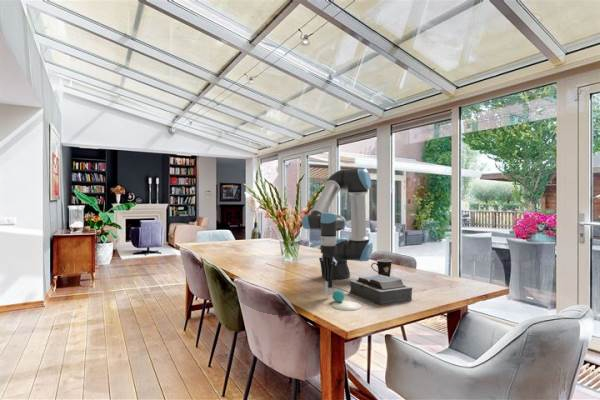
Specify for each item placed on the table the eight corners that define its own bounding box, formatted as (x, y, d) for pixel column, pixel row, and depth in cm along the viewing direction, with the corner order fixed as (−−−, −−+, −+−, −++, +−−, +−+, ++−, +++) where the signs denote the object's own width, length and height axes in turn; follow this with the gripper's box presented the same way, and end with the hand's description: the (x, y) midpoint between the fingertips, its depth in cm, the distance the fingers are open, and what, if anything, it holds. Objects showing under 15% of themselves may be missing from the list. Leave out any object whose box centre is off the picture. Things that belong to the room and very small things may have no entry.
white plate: (326, 304, 157) (326, 303, 157) (349, 300, 164) (349, 299, 164) (343, 312, 146) (343, 312, 146) (367, 307, 152) (367, 307, 152)
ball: (339, 292, 157) (336, 304, 157) (348, 292, 160) (345, 303, 160) (331, 288, 161) (329, 299, 161) (340, 287, 164) (337, 299, 165)
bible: (370, 307, 154) (370, 285, 154) (346, 291, 180) (346, 272, 180) (416, 303, 160) (416, 281, 160) (387, 288, 187) (387, 269, 186)
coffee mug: (392, 276, 213) (392, 259, 213) (391, 279, 205) (391, 262, 205) (372, 274, 217) (372, 258, 217) (371, 277, 209) (371, 261, 209)
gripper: (314, 243, 170) (314, 292, 171) (329, 247, 159) (330, 298, 159) (327, 242, 174) (327, 289, 174) (343, 245, 163) (343, 296, 163)
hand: (328, 294), depth 167 cm, fingers closed
